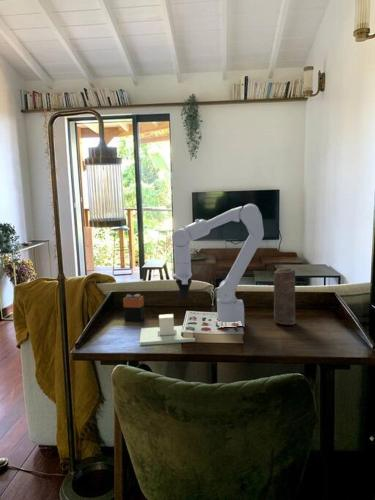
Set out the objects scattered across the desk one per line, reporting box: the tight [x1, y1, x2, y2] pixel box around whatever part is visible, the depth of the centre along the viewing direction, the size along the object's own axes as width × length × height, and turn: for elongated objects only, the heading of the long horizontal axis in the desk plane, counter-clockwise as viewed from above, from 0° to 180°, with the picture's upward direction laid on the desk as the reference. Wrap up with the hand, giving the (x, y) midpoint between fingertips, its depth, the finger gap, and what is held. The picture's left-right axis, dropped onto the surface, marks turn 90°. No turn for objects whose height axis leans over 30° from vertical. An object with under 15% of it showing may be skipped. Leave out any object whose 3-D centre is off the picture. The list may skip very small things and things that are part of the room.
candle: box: [273, 267, 296, 326], centre depth 136 cm, size 8×7×20 cm
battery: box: [122, 293, 146, 323], centre depth 147 cm, size 4×7×10 cm, turn 76°
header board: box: [139, 325, 196, 346], centre depth 131 cm, size 18×12×4 cm, turn 94°
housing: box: [158, 313, 175, 335], centre depth 131 cm, size 5×3×6 cm
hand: (184, 298), depth 141 cm, fingers closed
